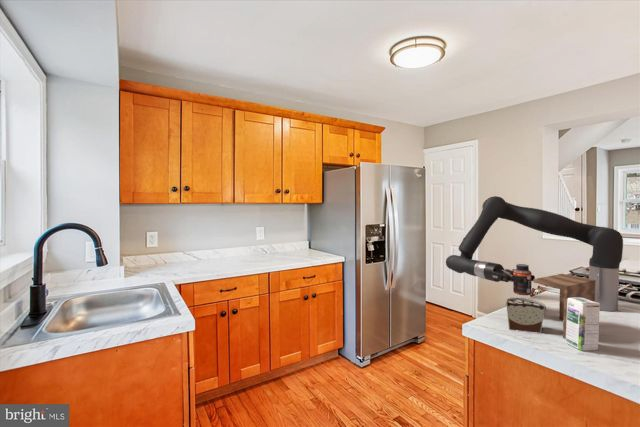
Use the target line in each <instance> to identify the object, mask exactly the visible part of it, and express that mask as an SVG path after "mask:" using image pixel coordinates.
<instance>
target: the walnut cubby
mask: <svg viewBox="0 0 640 427" xmlns="http://www.w3.org/2000/svg"><path fill="white" fill-rule="evenodd" d="M532 282H533V283H534V284H539V285H543V286H547V287H551V288H557V289H559V304H558V306H559V310H558V312H559V313H558V319H559V320H560V321H563V322H562V324H563V326H562V339H565V340H566V322H567V298H573V297H580V298H585V299H587V300H591V301H593V302H595V284H596V280H593V279H589V277H588V278H587V277H581V276H576V275H573V274H572V275H570V274H564V273H558V274H552V275H548V276H543V277H537V278H535V279H533V281H532Z"/></svg>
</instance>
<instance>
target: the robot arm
mask: <svg viewBox="0 0 640 427" xmlns="http://www.w3.org/2000/svg"><path fill="white" fill-rule="evenodd" d="M481 207H482V208H481V209H482V210H481V212H480V215H479V217H478V218H477V220H476V222H475V223H474V224H473V226H472V227H471V228H470V230H469V231H468V232H467V234H466V235H465V237H464V238H463V239H462V240H461V242H460V243H459V246H458V251H459V252H460V255H457V254H451V255H449V256H448V257H447V258H446V260H445V265H446V267H447V268H448V269H449V270H451V271H454V272H456V273H457V274H463V273H465V274H468V275H470V276H473V277H478V278H480V279H484V280H487V281H491V282H495V283H499V282H505V283H513V282H517V283H524V278H523V277H518V276H513V272H514V270H515V269H516V268H513V269H510V268H504V267H503V265H502V264H500V263H495V262H490V261H486V260H485V261H483V260H477V259H473V256H474V254H475V252H476V251H477V249H478V248H479V246H480V245H481V243H482V241H483V240H484V238H485V236H486V234H487V233H488V231H489V230H490V229H491V227H492V226H493V224H494V223H496V221H497V220H498V219H501V220H502V219H503V220H507V221H511V222H514V223H517V224H518V225H522V226H524V227H527V228H530V229H533V230H536V231H538V232H542V233H545V234H547V235H548V234H549V235H553V236H557V237H564V238H569V239H574V240H577V241H580V242H581V243H585V244H588V245H590V246H591V247H592V255H591V257H589V259H588V260H589V262H588V263H589V264H588V279H593V280H596V284H595V302H596V303H600V311H606V312H617V311H618V310H619V288H620V287H619V285H620V264H621V263H622V259H623V251H624V238H623V235H622V234H621V232H620V231H618V230H616V229H614V228H609V227H605V226H597V225H593V224H587V223H582V222H579V221H576V220H574V219H571V218H570V217H567V216H564V215H562V214H560V213H559V214H558V213H555V212H551V211H548V210H544V209H539V208H533V207H529V206H528V207H525V206H519V205H516V204H513V203H509V202H507V201H506V200H505V199H504V198H503V197H501V196H496V195H494V196H490V197H488V198H487V199H486V200H484V201H483V203H482V206H481ZM533 279H536V277H535V275H534V274H533V275H532V282H533Z"/></svg>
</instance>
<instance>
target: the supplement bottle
mask: <svg viewBox="0 0 640 427" xmlns="http://www.w3.org/2000/svg"><path fill="white" fill-rule="evenodd" d="M529 267H530V266H529V264H526V263H525V264H524V263H516V268H514V269H515V270H514V272H513V276H518V277H523V278H524V283H517V282H512V283H513V285H512V286H513V291H512V292H513V293H514V294H515V295H517V296H531V295H532V282H533V281H532V271H531V270H530V268H529Z"/></svg>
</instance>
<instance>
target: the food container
mask: <svg viewBox="0 0 640 427" xmlns="http://www.w3.org/2000/svg"><path fill="white" fill-rule="evenodd" d="M504 307H505V308H506V310H507V311H506V312H507V321H508V322H507V323H508V330H510V331H516V330H518V332H524V331H526V333H533V332H537V333H536V334H542V329H543V322H544V315H545V311H548V310H547V306H546V304H545V303H543V302H542V301H539V300H536V299H530V298H526V297H525V298H524V297H510V298H507V299H506V301H505V303H504Z"/></svg>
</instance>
